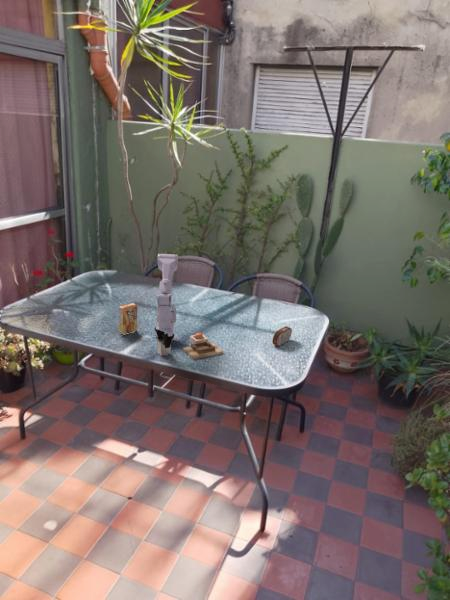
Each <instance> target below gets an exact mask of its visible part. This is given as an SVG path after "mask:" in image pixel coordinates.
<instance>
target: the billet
mask: <svg viewBox="0 0 450 600" xmlns="http://www.w3.org/2000/svg"><path fill="white" fill-rule="evenodd" d="M171 345H172V344H171ZM171 345H170V348H165V344H164V339H159V340H158V339H157V354H158V353H159V354H160V355H161V356H160V355H159V354H158V355H159V356H160V357H163V356H162V355H166V356H169V355H168V354H170V355H171V354H172V353H171V352H172V351H171V349H172V348H171V347H172V346H171Z"/></svg>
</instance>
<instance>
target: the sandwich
mask: <svg viewBox="0 0 450 600" xmlns="http://www.w3.org/2000/svg"><path fill="white" fill-rule="evenodd" d="M292 333H293V329H292V328H291V327H289V326H287V325H286V326H284V327H281V328H279V329H278V330H277V331H275V333H274V334H273V337H272V344H273V346H277V347H281V346H282V345H284V344H286V343H287V342H288V341H289V340H290V338H292V337H291V336H292Z"/></svg>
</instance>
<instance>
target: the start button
mask: <svg viewBox="0 0 450 600" xmlns="http://www.w3.org/2000/svg"><path fill="white" fill-rule="evenodd" d="M194 335H195V339H197V340H198V339H202V336H203V335H204V334H203V333H202V332H196V333H195V334H194Z"/></svg>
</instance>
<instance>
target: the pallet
mask: <svg viewBox="0 0 450 600" xmlns="http://www.w3.org/2000/svg"><path fill="white" fill-rule="evenodd" d="M182 351H183V352H185V353H186V354H187V355H188V356H189V355H190V356H191V357H192V358H193V359H192V358H191V357H190V356H189V357H190V358H191V359H192V360H194V361H195V359H196V360H201V359H204V358H209V357H213V356H218V355H222V354H224V350H223V349H221V348H219V347H218V346H217V345H216V344H215V343H213V341H209V340H208V341H204V342H199V343H194V344H192V343H191V344H190V346H189V345H188V346H185V347H182ZM200 358H201V359H200Z"/></svg>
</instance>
